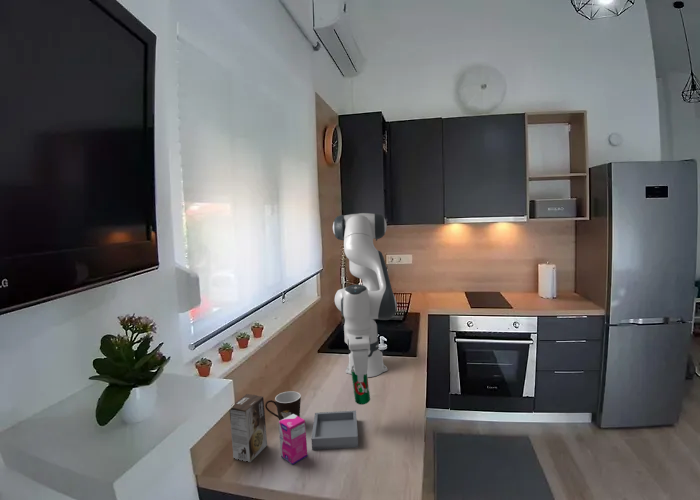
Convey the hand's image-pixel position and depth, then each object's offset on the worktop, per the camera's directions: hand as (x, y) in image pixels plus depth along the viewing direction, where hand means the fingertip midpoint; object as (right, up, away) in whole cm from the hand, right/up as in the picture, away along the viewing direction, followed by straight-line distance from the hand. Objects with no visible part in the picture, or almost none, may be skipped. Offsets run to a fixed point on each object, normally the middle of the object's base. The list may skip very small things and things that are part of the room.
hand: (360, 377), depth 130 cm
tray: (-8, -18, -1) cm, 20 cm away
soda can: (+1, -8, +1) cm, 9 cm away
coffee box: (-33, -20, -9) cm, 40 cm away
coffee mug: (-25, -18, +6) cm, 32 cm away
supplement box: (-20, -20, -12) cm, 31 cm away
